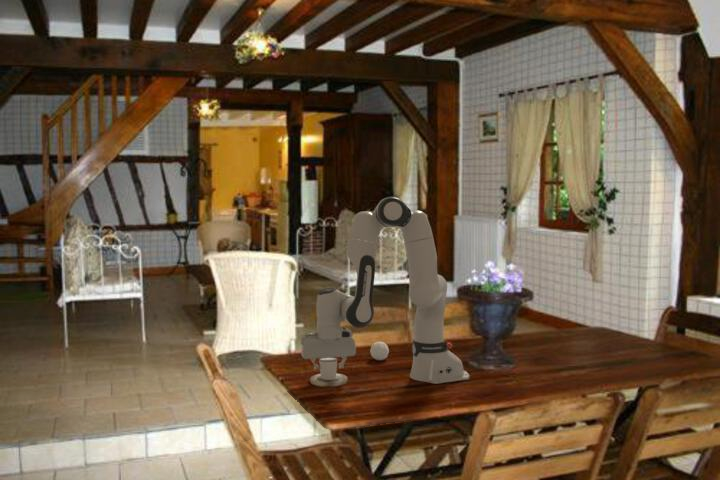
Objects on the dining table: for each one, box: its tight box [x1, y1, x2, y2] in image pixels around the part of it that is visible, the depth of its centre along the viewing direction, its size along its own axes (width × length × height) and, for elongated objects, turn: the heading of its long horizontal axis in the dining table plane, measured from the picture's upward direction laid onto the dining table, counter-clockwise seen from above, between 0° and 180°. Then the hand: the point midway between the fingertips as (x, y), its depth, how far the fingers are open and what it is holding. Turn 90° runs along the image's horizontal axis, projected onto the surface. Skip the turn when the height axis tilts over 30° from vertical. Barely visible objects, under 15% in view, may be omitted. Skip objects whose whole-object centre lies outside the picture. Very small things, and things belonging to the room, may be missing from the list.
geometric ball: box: [369, 341, 390, 361], centre depth 298 cm, size 8×8×8 cm
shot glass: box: [318, 357, 338, 380], centre depth 268 cm, size 7×7×7 cm
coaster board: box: [309, 372, 348, 388], centre depth 268 cm, size 14×14×1 cm
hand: (328, 368), depth 267 cm, fingers open, 8 cm apart
